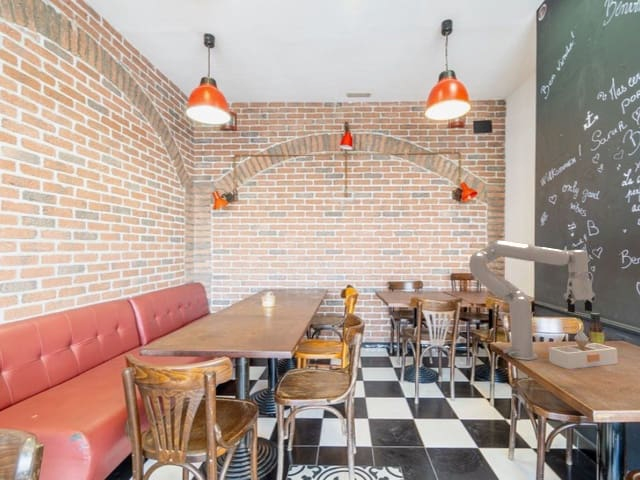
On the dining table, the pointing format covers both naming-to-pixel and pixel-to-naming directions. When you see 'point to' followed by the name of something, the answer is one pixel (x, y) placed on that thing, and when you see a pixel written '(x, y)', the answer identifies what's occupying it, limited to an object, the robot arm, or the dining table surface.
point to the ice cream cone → (581, 339)
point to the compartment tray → (583, 356)
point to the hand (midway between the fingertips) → (580, 311)
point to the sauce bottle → (596, 330)
